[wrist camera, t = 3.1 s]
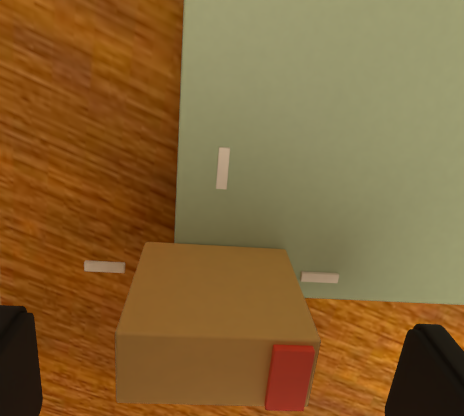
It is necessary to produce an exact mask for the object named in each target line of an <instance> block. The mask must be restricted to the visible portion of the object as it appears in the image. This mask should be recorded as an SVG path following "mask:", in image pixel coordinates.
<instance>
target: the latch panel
mask: <svg viewBox="0 0 464 416" xmlns="http://www.w3.org/2000/svg"><path fill="white" fill-rule="evenodd" d="M174 243H180V244H199V245H217V246H235V247H254V248H272V249H285V250H286V252H287V254H288V257H289V260H290V262H291V265H292V267H293V270H294V273H295V275H296V278H297V280H298V283H299V285H300V288H301V291H302V293H303V296H304V298H322V299H344V300H367V301H389V302H411V303H433V304H456V305H464V0H184V11H183V36H182V61H181V86H180V111H179V136H178V161H177V186H176V211H175V236H174ZM84 271H91V272H112V273H125V262H106V261H87V260H85V262H84Z"/></svg>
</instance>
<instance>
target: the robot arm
mask: <svg viewBox="0 0 464 416" xmlns="http://www.w3.org/2000/svg"><path fill="white" fill-rule="evenodd" d="M42 400H43V396H42V387H41V378H40V368H39V359H38V350H37V340H36V331H35V322H34V315H33V314H32V313H27V310H26V308H25V307H23V306H5V305H0V416H39V413H40V411H41V407H42ZM385 416H464V351H463V350H462V349H461V348H460V346H459V345H458V344H457V343H456V342H455V340H454V339H453V338H452V337H451V336H450V334H449V333H448V332H447V331H446V329H445V328H444V327H442V326H441V325H434V324H416V325H415V326H414V328H413V329H410V330H409V331H408V332H407V335H406V338H405V341H404V345H403V348H402V351H401V355H400V358H399V362H398V365H397V368H396V372H395V375H394V378H393V382H392V385H391V389H390V392H389V395H388V399H387V402H386V406H385Z"/></svg>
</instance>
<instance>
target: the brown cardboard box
mask: <svg viewBox="0 0 464 416" xmlns="http://www.w3.org/2000/svg"><path fill="white" fill-rule="evenodd" d="M320 343H321V340H320V337H319V335H318V332H317V329H316V327H315V324H314V322H313V319H312V317H311V314H310V311H309V309H308V306H307V304H306V301H305V298H304V296H303V293H302V291H301V288H300V285H299V283H298V280H297V278H296V275H295V273H294V270H293V267H292V265H291V262H290V260H289V257H288V254H287V252H286V250H285V249H272V248H254V247H235V246H217V245H199V244H180V243H162V242H146V243H145V245H144V248H143V251H142V254H141V257H140V260H139V263H138V266H137V269H136V272H135V275H134V278H133V281H132V284H131V287H130V290H129V293H128V296H127V299H126V302H125V305H124V308H123V311H122V314H121V317H120V320H119V323H118V326H117V329H116V332H115V365H116V400H117V402H118V403H148V404H191V405H235V406H265V409H266V410H272V411H304V407H307V406H308V403H309V398H310V393H311V388H312V383H313V378H314V373H315V368H316V363H317V358H318V353H319V348H320Z"/></svg>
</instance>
